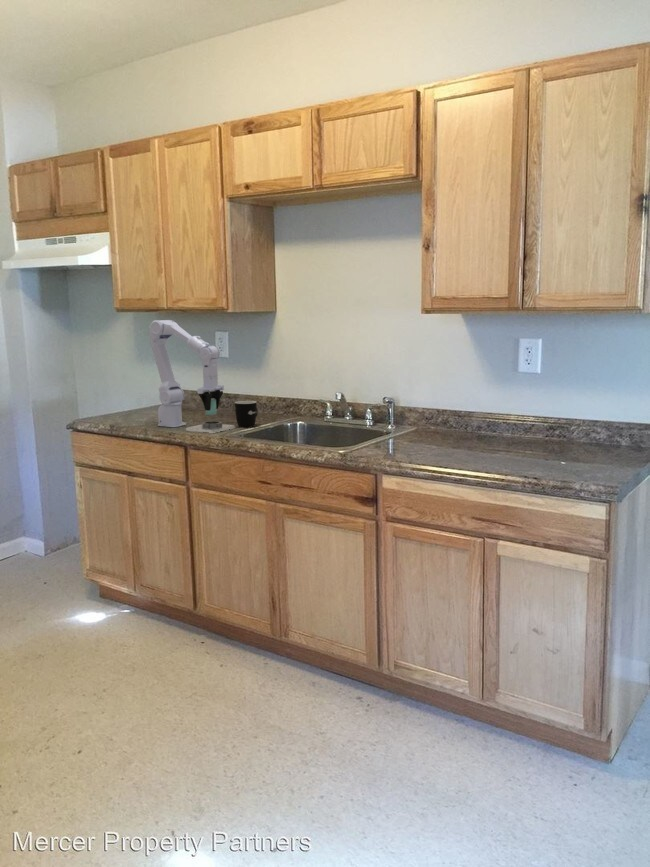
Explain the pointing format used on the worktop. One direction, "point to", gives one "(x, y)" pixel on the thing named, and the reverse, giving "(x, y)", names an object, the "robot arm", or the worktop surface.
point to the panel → (210, 427)
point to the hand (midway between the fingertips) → (211, 409)
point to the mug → (246, 413)
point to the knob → (212, 408)
